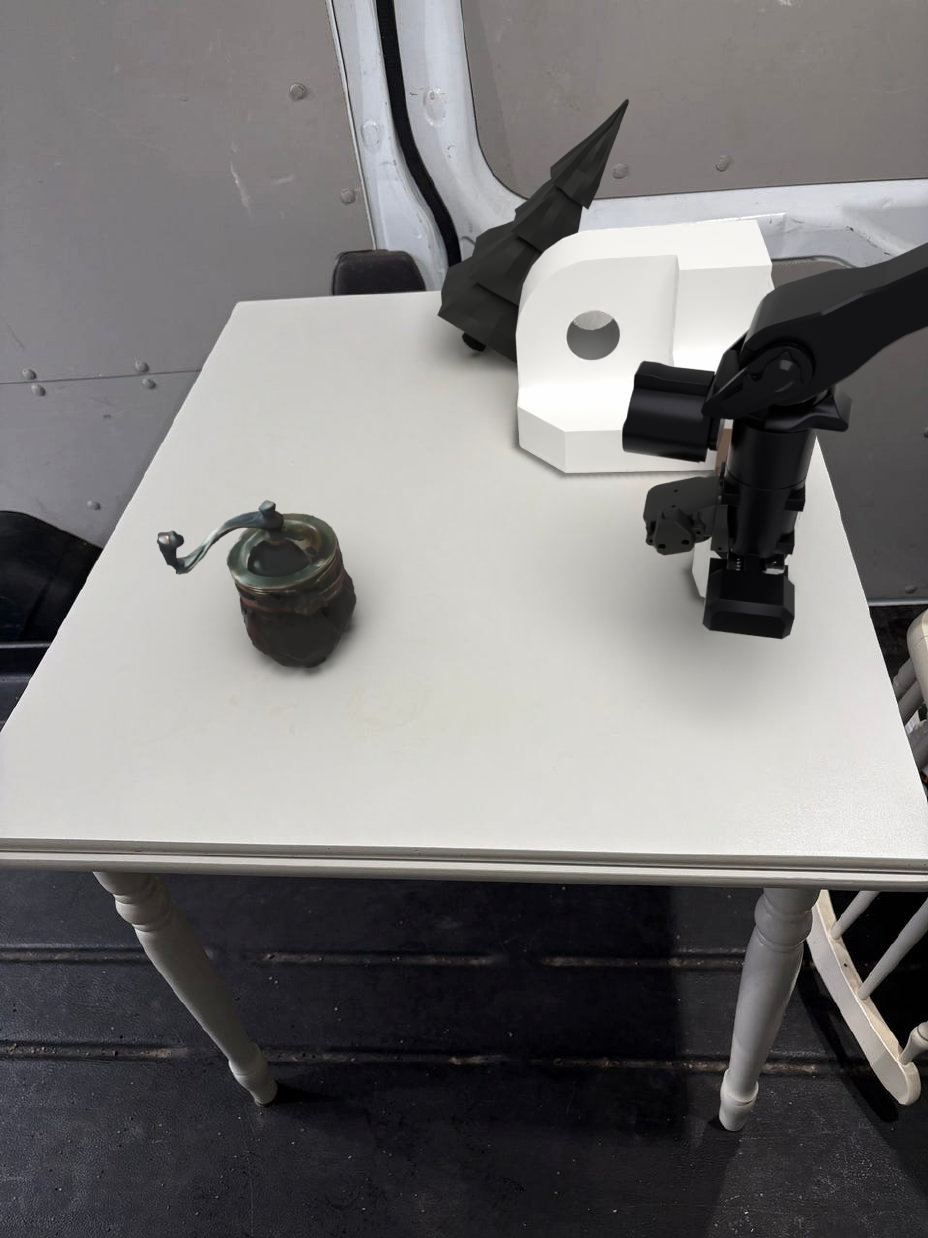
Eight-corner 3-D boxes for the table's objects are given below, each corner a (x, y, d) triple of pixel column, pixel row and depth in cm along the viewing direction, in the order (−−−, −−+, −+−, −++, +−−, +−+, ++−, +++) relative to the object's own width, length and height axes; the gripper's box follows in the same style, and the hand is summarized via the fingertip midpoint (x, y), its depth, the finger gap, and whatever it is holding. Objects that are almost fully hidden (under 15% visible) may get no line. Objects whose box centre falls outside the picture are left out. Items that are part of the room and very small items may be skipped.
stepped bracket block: (516, 474, 97) (505, 303, 82) (524, 395, 108) (515, 234, 94) (750, 469, 93) (781, 290, 78) (732, 388, 105) (756, 219, 90)
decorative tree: (515, 395, 115) (686, 157, 92) (421, 341, 110) (575, 77, 87) (519, 342, 125) (673, 116, 102) (432, 291, 120) (573, 43, 97)
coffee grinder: (196, 662, 81) (124, 516, 68) (315, 579, 87) (269, 432, 75) (274, 730, 74) (210, 583, 61) (396, 635, 81) (361, 484, 68)
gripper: (667, 393, 69) (654, 538, 80) (639, 536, 57) (628, 684, 68) (809, 401, 67) (776, 550, 78) (813, 553, 54) (772, 704, 65)
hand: (737, 616), depth 72 cm, fingers closed
